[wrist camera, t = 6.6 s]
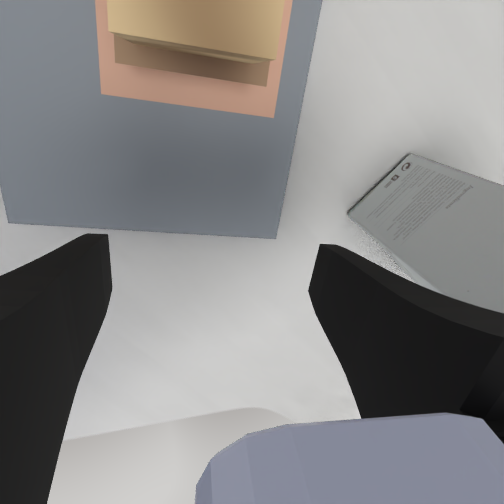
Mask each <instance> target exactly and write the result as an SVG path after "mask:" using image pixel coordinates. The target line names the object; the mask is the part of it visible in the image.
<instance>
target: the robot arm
mask: <svg viewBox="0 0 504 504" xmlns="http://www.w3.org/2000/svg"><path fill="white" fill-rule="evenodd" d="M111 292H112V277H111V265H110V252H109V240H108V234H85V235H82V236H80V237H78V238H76V239H74V240H72V241H70V242H68V243H67V244H65V245H63V246H61V247H59V248H57V249H55V250H54V251H52V252H50V253H48V254H46V255H44V256H42V257H40V258H38V259H36V260H34V261H32V262H30V263H28V264H26V265H23V266H21V267H19V268H17V269H15V270H13V271H11V272H8V273H6V274H4V275H1V276H0V504H47V501H48V497H49V492H50V488H51V484H52V480H53V476H54V472H55V468H56V464H57V459H58V455H59V452H60V448H61V444H62V440H63V436H64V433H65V429H66V425H67V421H68V417H69V414H70V410H71V407H72V403H73V400H74V396H75V393H76V389H77V386H78V383H79V380H80V378H81V375H82V372H83V369H84V367H85V365H86V362H87V360H88V357H89V355H90V352H91V350H92V348H93V345H94V343H95V340H96V338H97V336H98V333H99V331H100V328H101V326H102V323H103V321H104V318H105V316H106V313H107V309H108V305H109V301H110V296H111ZM308 292H309V295H310V298H311V302H312V305H313V308H314V311H315V313H316V316H317V318H318V320H319V322H320V324H321V326H322V328H323V330H324V332H325V334H326V336H327V338H328V340H329V342H330V344H331V346H332V347H333V349H334V351H335V353H336V355H337V357H338V359H339V361H340V363H341V365H342V368H343V370H344V372H345V374H346V377H347V379H348V382H349V385H350V387H351V390H352V393H353V395H354V398H355V401H356V404H357V407H358V410H359V413H360V416H361V418H362V419H353V420H339V421H326V422H313V423H299V424H286V425H282V426H278V427H274V428H269V429H266V430H261V431H257V432H253V433H249V434H246V435H245V436H243V437H242V438H240V439H238V440H237V441H235V442H234V443H232V444H231V445H229V446H227V447H226V448H224V449H223V450H221V451H220V452H218V453H217V454H216V455H215V456H214V457H213V458H212V459H211V460H210V462H209V463H208V465H207V467H206V469H205V471H204V472H203V474H202V476H201V478H200V480H199V481H198V483H197V485H196V495H195V504H504V313H500V312H496V311H493V310H489V309H486V308H482V307H479V306H476V305H473V304H469V303H466V302H463V301H460V300H457V299H454V298H451V297H448V296H446V295H443V294H440V293H438V292H435V291H433V290H430V289H428V288H425V287H423V286H420V285H418V284H416V283H413V282H411V281H409V280H407V279H405V278H403V277H401V276H399V275H396V274H394V273H392V272H390V271H388V270H386V269H384V268H383V267H381V266H379V265H377V264H375V263H373V262H371V261H369V260H367V259H365V258H364V257H362V256H360V255H358V254H356V253H354V252H352V251H350V250H348V249H346V248H343V247H341V246H338V245H332V244H320V246H319V250H318V254H317V258H316V262H315V266H314V270H313V274H312V278H311V282H310V286H309V290H308Z"/></svg>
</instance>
